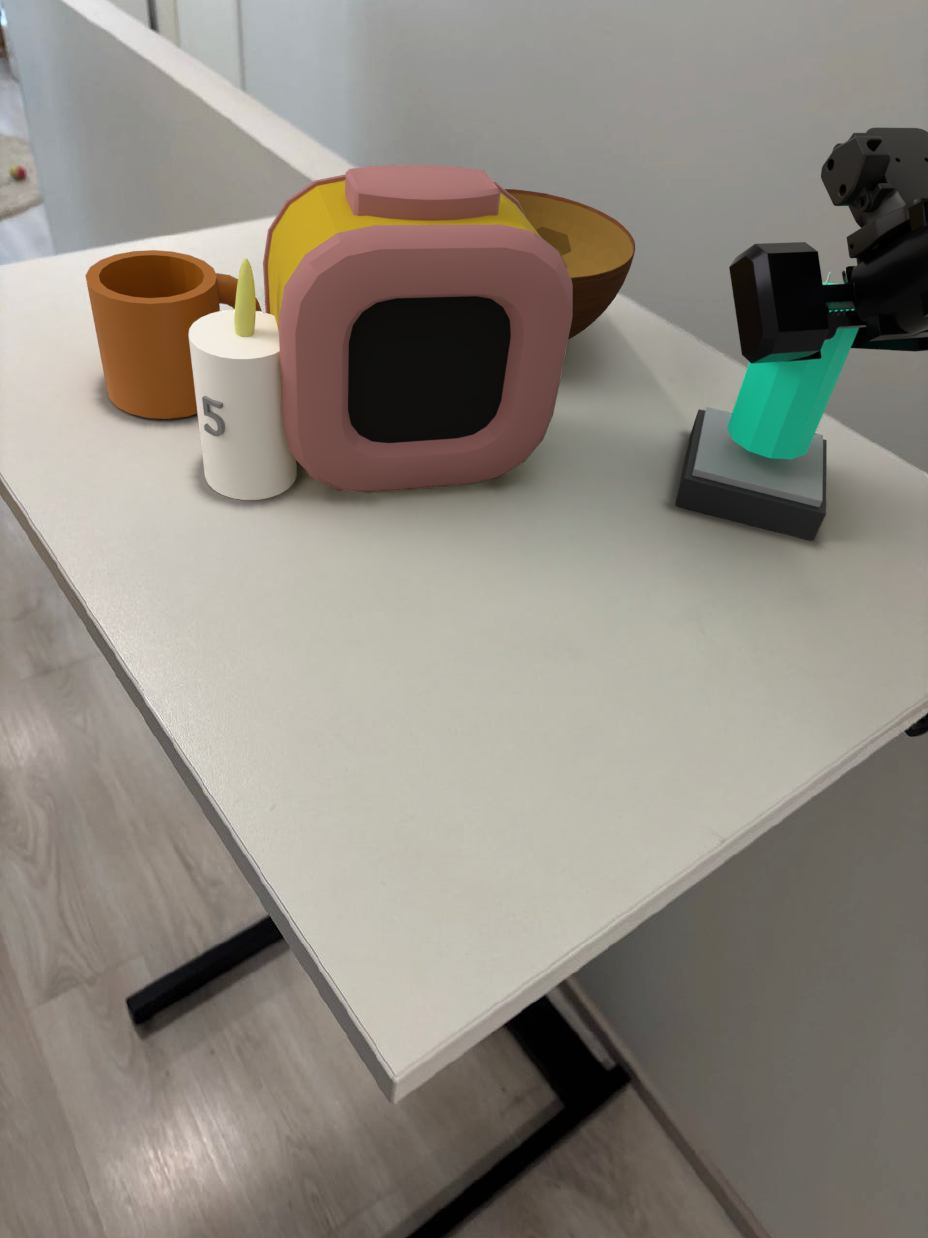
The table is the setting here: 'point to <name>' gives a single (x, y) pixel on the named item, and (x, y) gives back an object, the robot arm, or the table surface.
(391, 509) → the table surface
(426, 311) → the alarm clock
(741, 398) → the candle
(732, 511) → the scale
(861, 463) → the table surface
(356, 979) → the table surface
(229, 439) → the candle
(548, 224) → the bowl
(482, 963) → the table surface
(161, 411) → the mug
